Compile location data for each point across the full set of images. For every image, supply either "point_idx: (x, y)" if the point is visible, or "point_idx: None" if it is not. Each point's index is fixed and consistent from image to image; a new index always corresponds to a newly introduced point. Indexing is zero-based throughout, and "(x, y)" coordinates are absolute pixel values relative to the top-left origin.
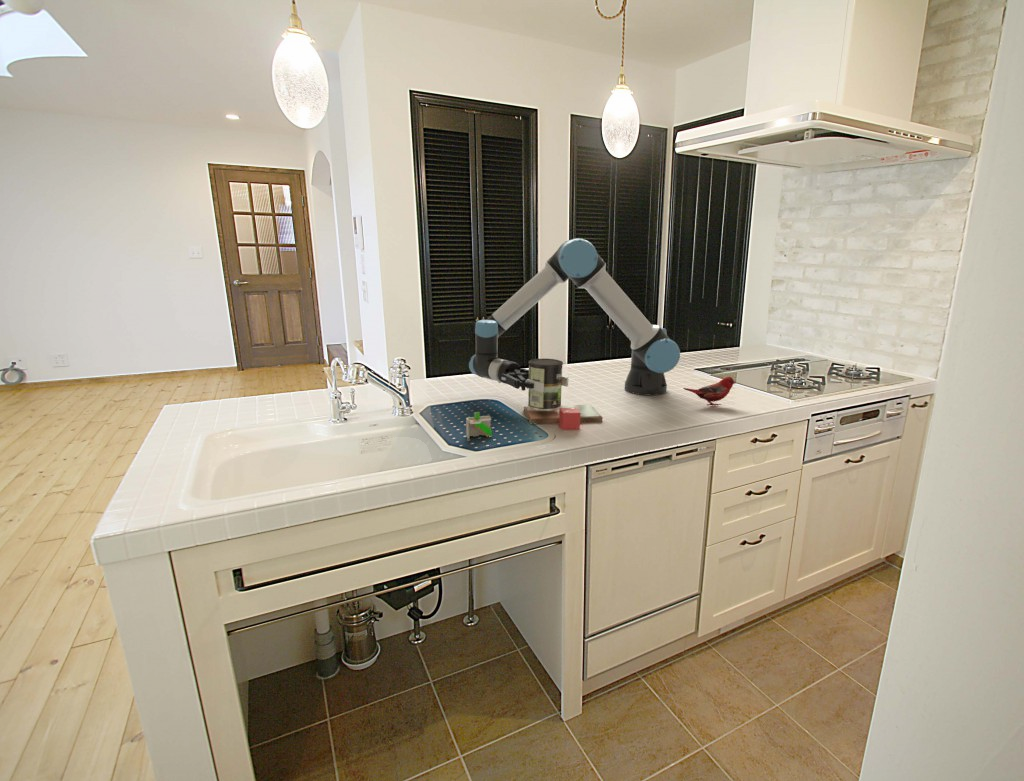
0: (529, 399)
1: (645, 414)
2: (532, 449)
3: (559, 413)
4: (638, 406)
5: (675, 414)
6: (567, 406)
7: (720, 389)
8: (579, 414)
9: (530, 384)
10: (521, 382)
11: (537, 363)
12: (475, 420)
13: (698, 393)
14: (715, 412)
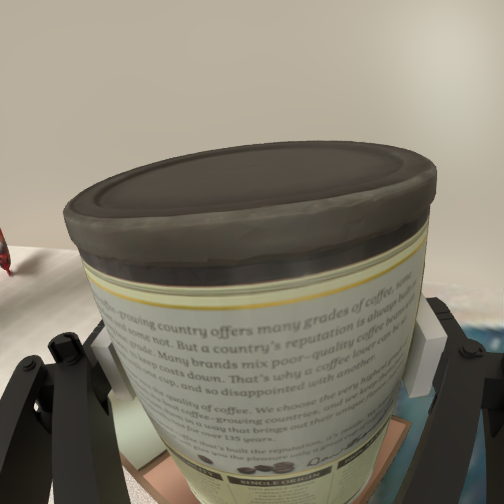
0: (381, 445)
1: (77, 306)
2: (483, 299)
3: None
4: (21, 331)
5: (63, 282)
6: (130, 435)
7: (5, 241)
8: None
9: (440, 305)
10: (488, 355)
11: (362, 159)
12: None
13: (5, 259)
14: (41, 264)
